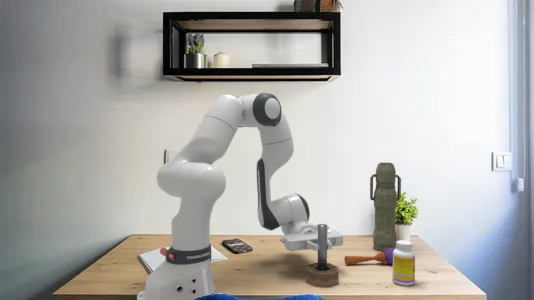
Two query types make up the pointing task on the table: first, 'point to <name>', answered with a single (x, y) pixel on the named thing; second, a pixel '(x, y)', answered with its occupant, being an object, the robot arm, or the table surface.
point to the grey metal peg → (322, 247)
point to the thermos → (385, 206)
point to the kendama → (372, 258)
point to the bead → (322, 275)
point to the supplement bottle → (403, 263)
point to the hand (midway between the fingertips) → (323, 247)
